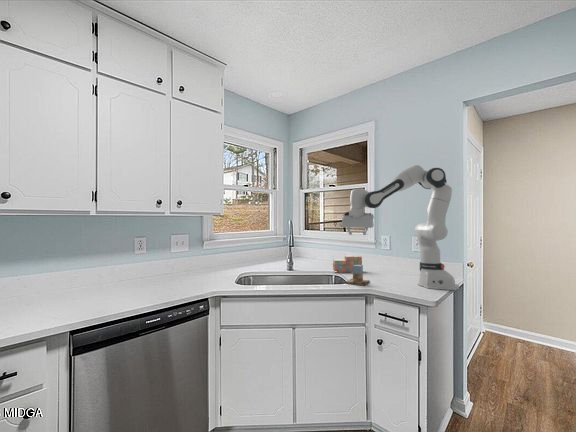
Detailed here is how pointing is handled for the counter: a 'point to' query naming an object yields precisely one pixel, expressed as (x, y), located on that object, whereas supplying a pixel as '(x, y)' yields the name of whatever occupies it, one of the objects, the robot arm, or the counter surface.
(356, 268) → the slate block
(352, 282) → the baseplate
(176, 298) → the counter surface
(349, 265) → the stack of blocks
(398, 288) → the counter surface
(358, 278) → the oak block
